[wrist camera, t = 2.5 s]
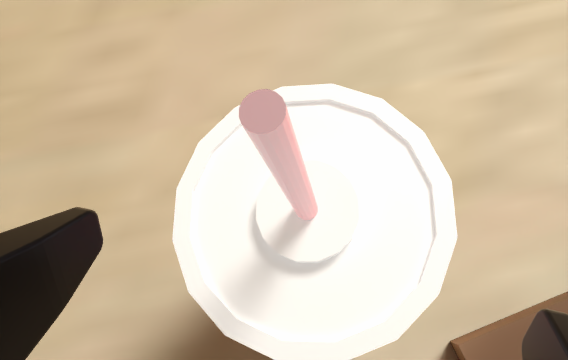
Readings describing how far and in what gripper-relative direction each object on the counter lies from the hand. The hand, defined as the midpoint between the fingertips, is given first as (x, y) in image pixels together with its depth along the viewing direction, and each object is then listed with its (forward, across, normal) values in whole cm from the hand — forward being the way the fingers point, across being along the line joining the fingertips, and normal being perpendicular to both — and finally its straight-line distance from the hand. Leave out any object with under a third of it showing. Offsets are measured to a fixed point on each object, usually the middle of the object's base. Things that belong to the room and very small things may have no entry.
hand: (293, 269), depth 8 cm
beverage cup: (+8, 0, +6) cm, 9 cm away
